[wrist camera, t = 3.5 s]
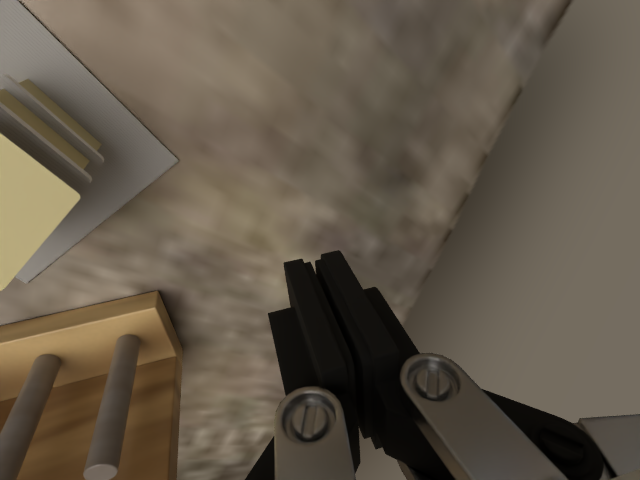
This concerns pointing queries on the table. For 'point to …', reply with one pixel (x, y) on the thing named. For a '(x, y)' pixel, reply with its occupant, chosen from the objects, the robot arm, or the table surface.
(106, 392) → the peg rack
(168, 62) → the table surface
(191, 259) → the table surface
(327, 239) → the table surface
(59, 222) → the stacked layers on plate
